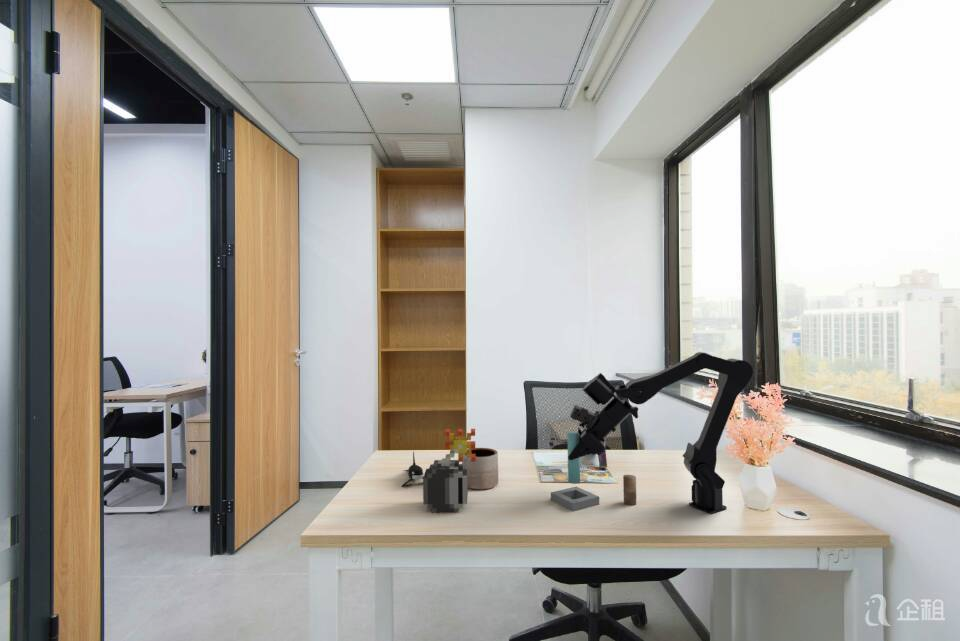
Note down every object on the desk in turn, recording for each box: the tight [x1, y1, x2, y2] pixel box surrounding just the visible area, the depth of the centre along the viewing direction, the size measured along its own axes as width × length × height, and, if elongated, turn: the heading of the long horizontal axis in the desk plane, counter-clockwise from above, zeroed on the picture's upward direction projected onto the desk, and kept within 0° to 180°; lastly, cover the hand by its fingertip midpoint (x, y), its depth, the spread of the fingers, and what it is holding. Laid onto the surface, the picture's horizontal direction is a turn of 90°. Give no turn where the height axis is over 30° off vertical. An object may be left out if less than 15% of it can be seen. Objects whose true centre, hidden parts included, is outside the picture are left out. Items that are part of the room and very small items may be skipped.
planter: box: [461, 447, 499, 491], centre depth 137 cm, size 11×11×10 cm
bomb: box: [422, 428, 476, 514], centre depth 120 cm, size 8×13×20 cm, turn 90°
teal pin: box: [566, 431, 581, 485], centre depth 124 cm, size 3×3×13 cm
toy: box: [401, 451, 424, 488], centre depth 143 cm, size 21×10×10 cm, turn 17°
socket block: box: [550, 486, 600, 512], centre depth 122 cm, size 9×9×2 cm
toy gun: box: [597, 437, 608, 469], centre depth 160 cm, size 2×21×10 cm, turn 175°
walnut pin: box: [622, 474, 637, 507], centre depth 121 cm, size 3×3×7 cm
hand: (568, 457), depth 124 cm, fingers closed on teal pin, 3 cm apart
